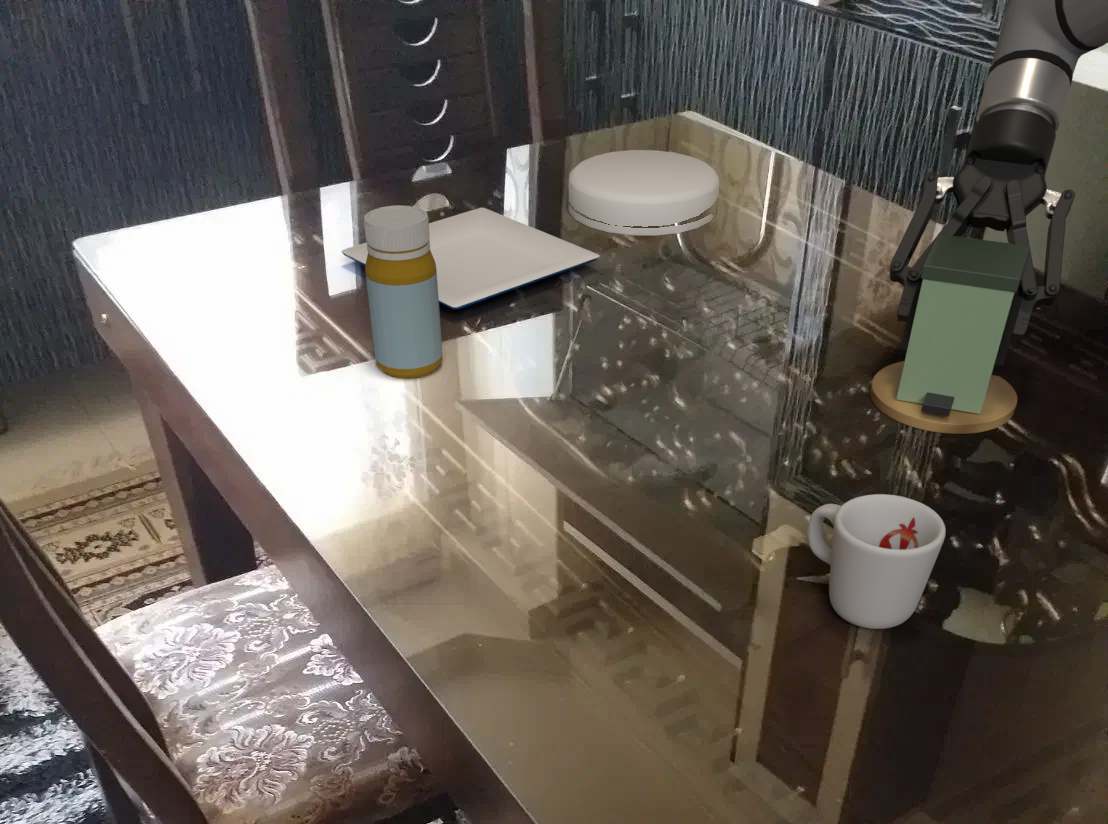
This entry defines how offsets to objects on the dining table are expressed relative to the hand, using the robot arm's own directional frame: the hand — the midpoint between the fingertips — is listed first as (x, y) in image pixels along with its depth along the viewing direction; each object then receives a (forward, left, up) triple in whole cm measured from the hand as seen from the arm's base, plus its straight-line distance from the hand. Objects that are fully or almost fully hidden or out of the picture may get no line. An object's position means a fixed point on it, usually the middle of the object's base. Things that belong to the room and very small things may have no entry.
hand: (949, 362), depth 109 cm
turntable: (-2, -3, -5) cm, 6 cm away
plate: (+41, -44, -5) cm, 60 cm away
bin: (-1, -2, -4) cm, 5 cm away
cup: (+18, +28, -5) cm, 34 cm away
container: (+16, -61, -5) cm, 63 cm away
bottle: (+50, -19, -5) cm, 54 cm away
